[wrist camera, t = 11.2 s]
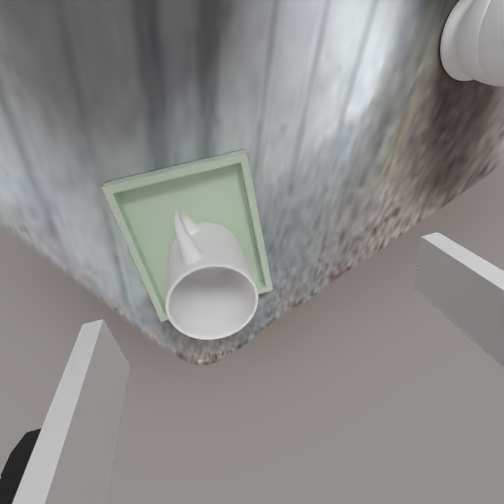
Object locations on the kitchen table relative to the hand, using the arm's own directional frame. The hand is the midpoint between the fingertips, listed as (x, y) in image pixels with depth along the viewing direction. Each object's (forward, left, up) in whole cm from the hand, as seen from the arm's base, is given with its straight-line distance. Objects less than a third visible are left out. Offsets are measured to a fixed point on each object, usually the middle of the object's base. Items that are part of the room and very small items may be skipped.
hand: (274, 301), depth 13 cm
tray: (+8, -4, -25) cm, 26 cm away
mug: (+8, -4, -24) cm, 26 cm away
